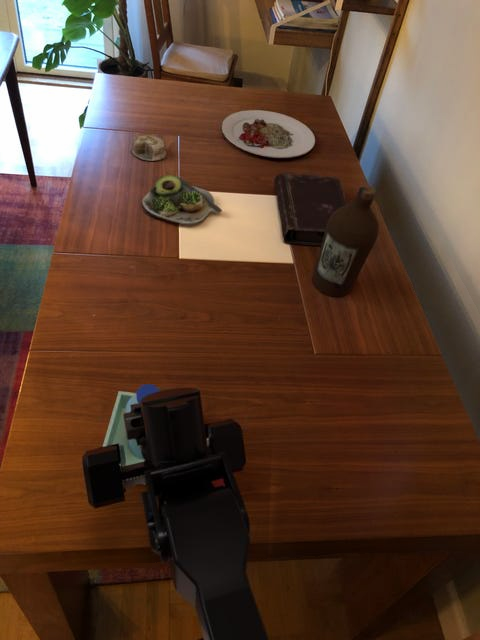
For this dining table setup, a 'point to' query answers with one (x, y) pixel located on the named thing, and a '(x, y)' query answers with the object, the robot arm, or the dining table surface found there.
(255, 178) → the dining table surface
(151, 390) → the water bottle
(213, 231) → the dining table surface
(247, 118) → the plated food
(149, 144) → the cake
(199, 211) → the avocado toast plate
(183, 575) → the robot arm
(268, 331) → the dining table surface
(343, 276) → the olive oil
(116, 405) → the shallow open tray
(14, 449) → the dining table surface
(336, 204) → the diary
